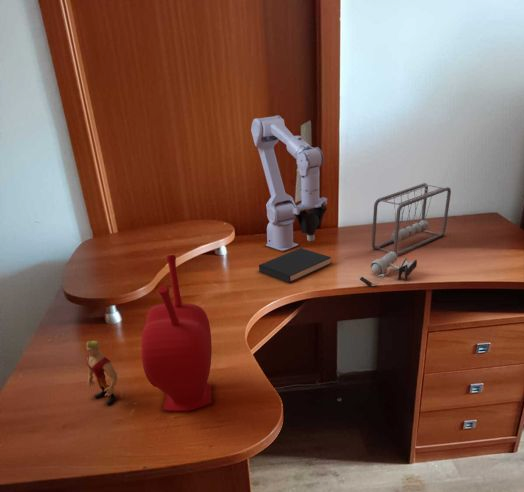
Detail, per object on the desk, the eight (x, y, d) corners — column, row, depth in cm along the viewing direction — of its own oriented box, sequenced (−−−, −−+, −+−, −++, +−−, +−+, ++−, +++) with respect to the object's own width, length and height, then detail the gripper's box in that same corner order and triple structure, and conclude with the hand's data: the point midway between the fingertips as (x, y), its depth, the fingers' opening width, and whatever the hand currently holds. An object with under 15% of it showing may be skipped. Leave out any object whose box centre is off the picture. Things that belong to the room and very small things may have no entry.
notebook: (259, 272, 168) (258, 264, 167) (300, 254, 179) (300, 247, 178) (289, 283, 159) (289, 275, 158) (331, 264, 170) (331, 257, 169)
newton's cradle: (421, 228, 195) (426, 181, 185) (445, 235, 188) (452, 186, 178) (370, 250, 179) (373, 199, 169) (394, 257, 172) (399, 205, 162)
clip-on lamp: (383, 300, 152) (419, 270, 159) (383, 283, 147) (420, 253, 155) (352, 286, 159) (388, 258, 166) (352, 269, 154) (389, 241, 162)
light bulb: (321, 239, 172) (321, 210, 167) (315, 245, 168) (315, 215, 163) (305, 238, 174) (305, 209, 169) (300, 243, 170) (299, 214, 165)
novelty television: (163, 372, 120) (140, 252, 104) (217, 367, 120) (202, 247, 105) (153, 430, 102) (123, 295, 87) (217, 424, 103) (199, 289, 87)
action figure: (86, 395, 114) (69, 337, 106) (100, 387, 116) (84, 330, 108) (112, 410, 109) (97, 351, 101) (126, 402, 111) (111, 343, 103)
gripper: (304, 196, 155) (304, 238, 162) (334, 185, 163) (333, 227, 170) (287, 192, 160) (288, 234, 167) (318, 182, 168) (317, 223, 175)
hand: (310, 230), depth 169 cm, fingers closed on light bulb, 5 cm apart
